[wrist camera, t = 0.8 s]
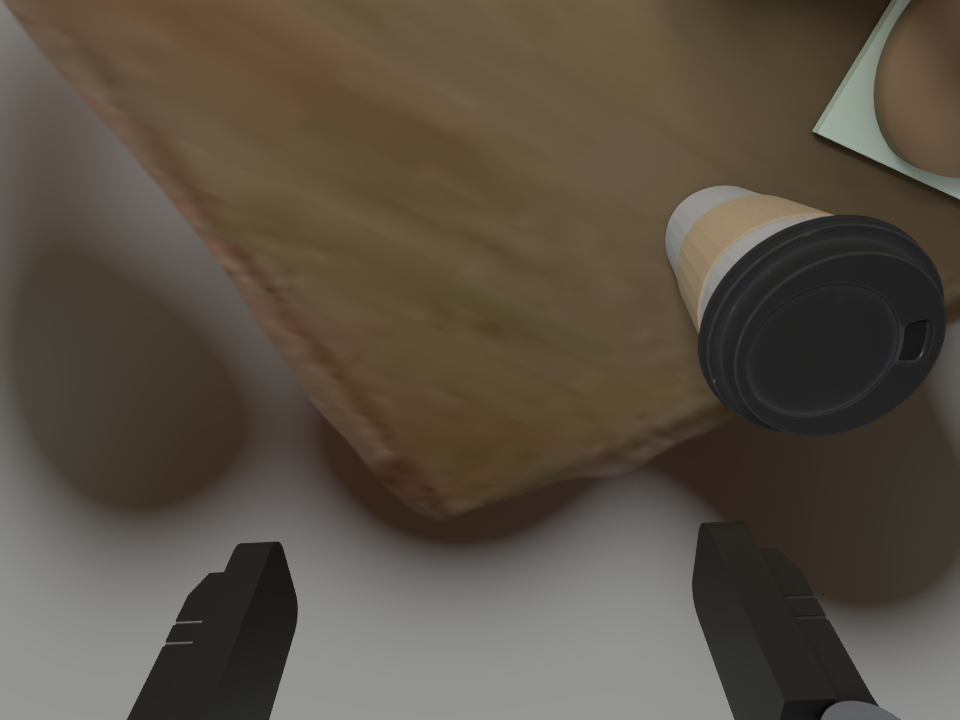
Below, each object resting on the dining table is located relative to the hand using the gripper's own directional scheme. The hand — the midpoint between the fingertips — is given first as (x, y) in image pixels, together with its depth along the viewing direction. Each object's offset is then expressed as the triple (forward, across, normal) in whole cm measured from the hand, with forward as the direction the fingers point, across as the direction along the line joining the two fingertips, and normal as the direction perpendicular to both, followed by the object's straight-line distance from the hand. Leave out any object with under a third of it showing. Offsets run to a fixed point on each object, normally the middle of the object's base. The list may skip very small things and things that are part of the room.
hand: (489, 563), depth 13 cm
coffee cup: (+28, -13, +3) cm, 31 cm away
